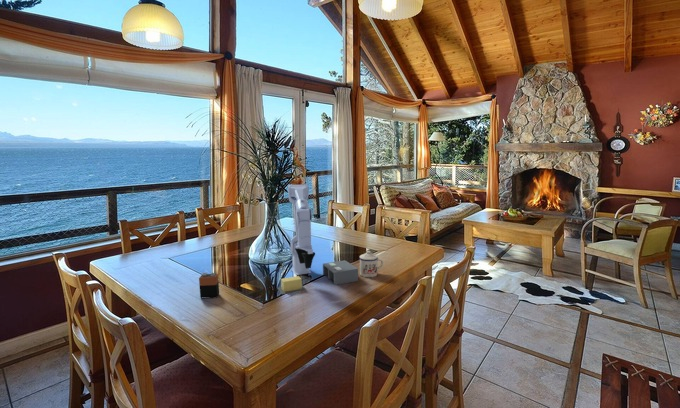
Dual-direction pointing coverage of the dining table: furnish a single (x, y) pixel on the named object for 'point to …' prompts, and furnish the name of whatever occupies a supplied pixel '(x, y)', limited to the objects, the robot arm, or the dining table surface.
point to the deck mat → (290, 291)
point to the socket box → (340, 272)
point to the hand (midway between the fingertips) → (305, 265)
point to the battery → (209, 285)
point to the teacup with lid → (369, 264)
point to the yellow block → (291, 283)
